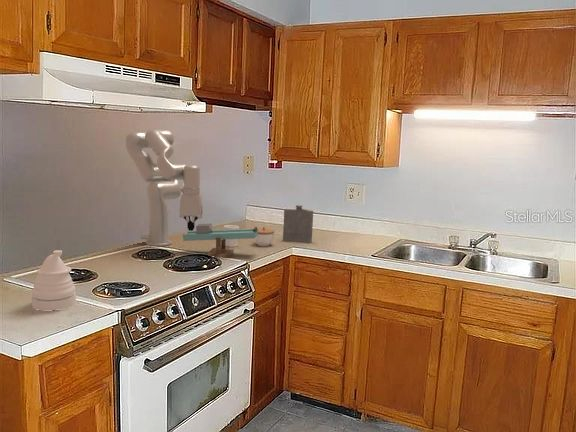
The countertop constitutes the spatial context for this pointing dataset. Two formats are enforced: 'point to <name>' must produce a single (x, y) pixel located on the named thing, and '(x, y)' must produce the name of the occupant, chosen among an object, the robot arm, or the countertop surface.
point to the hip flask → (298, 225)
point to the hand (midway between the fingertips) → (190, 230)
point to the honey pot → (53, 285)
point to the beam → (222, 234)
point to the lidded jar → (264, 237)
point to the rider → (204, 229)
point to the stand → (220, 249)
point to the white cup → (231, 241)
